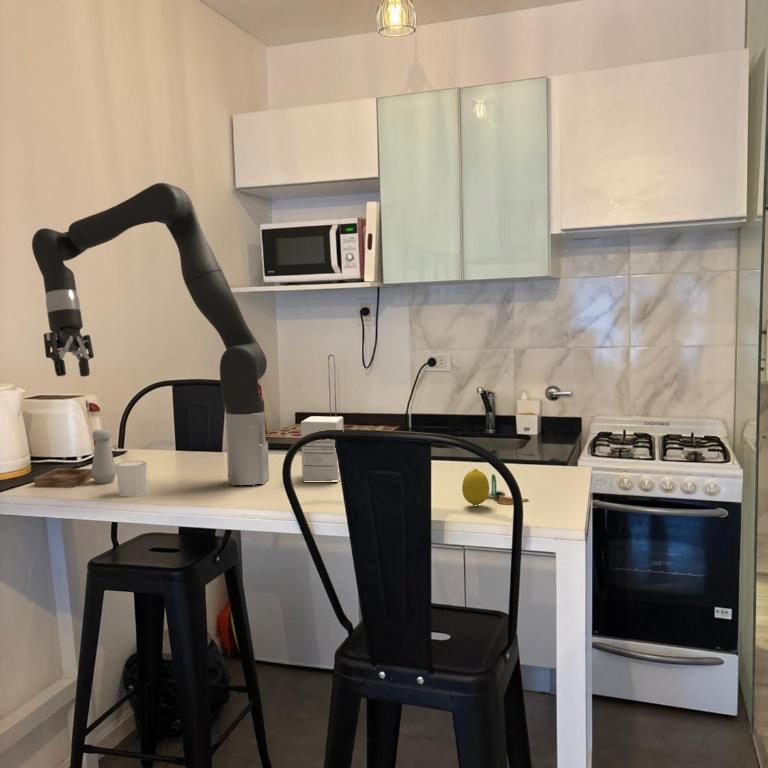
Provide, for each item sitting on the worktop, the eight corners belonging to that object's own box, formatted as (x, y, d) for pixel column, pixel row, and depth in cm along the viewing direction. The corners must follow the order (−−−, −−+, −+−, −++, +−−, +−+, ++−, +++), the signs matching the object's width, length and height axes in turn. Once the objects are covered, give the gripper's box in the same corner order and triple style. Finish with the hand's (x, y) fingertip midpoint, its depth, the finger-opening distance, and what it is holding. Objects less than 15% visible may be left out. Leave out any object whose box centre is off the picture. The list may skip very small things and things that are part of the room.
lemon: (487, 503, 154) (487, 466, 153) (490, 510, 148) (490, 471, 148) (461, 503, 154) (461, 466, 153) (463, 510, 149) (463, 472, 148)
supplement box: (310, 474, 184) (309, 415, 183) (345, 475, 183) (344, 415, 181) (301, 482, 175) (299, 421, 174) (337, 483, 174) (336, 421, 172)
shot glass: (138, 497, 164) (137, 467, 163) (110, 496, 165) (108, 466, 164) (153, 490, 170) (152, 460, 170) (126, 489, 172) (124, 460, 171)
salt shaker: (108, 485, 176) (105, 432, 175) (86, 484, 177) (83, 431, 176) (121, 479, 182) (118, 428, 181) (100, 478, 183) (97, 427, 182)
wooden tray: (94, 477, 185) (93, 468, 185) (74, 486, 175) (74, 477, 175) (56, 477, 186) (56, 468, 186) (34, 486, 176) (34, 477, 176)
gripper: (56, 305, 171) (66, 373, 170) (95, 310, 185) (105, 373, 184) (29, 311, 173) (39, 378, 172) (70, 316, 187) (80, 378, 186)
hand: (73, 375), depth 178 cm, fingers open, 8 cm apart
